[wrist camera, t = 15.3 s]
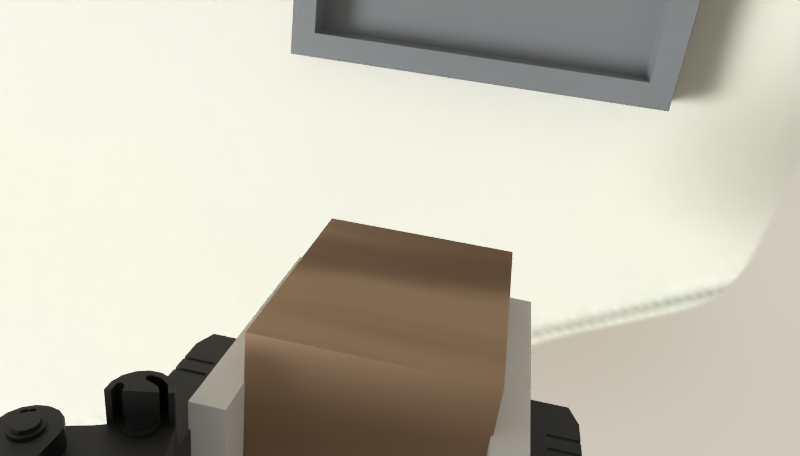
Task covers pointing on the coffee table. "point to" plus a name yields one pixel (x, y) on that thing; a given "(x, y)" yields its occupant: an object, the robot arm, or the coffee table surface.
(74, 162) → the coffee table surface
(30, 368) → the coffee table surface
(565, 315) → the coffee table surface
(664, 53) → the tray
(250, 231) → the coffee table surface
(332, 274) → the walnut block
